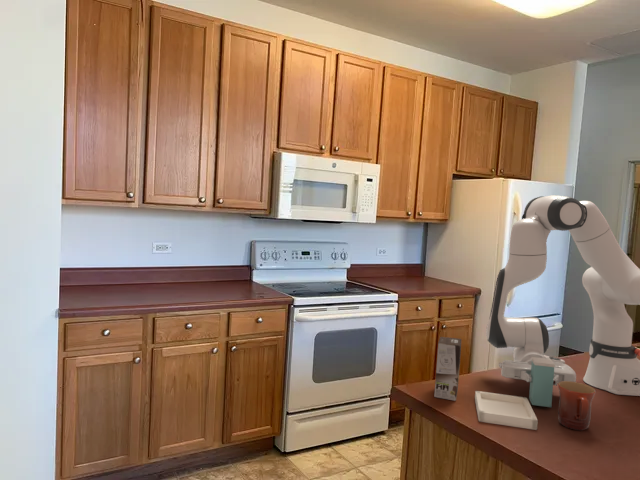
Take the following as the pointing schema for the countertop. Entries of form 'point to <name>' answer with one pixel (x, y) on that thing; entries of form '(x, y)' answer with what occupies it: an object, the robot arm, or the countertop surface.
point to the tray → (505, 410)
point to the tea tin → (541, 382)
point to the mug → (575, 404)
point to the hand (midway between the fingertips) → (542, 381)
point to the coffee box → (447, 368)
